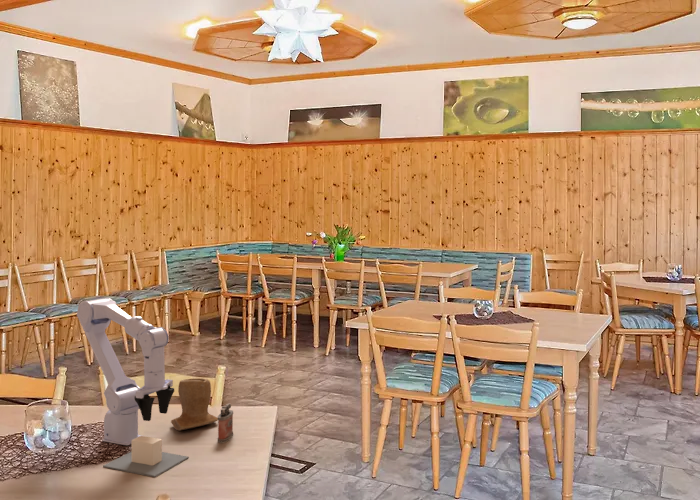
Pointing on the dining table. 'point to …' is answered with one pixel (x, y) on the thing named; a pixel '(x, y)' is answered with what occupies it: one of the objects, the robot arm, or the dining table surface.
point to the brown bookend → (194, 404)
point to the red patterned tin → (225, 424)
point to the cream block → (146, 450)
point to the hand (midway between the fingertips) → (155, 416)
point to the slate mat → (144, 469)
